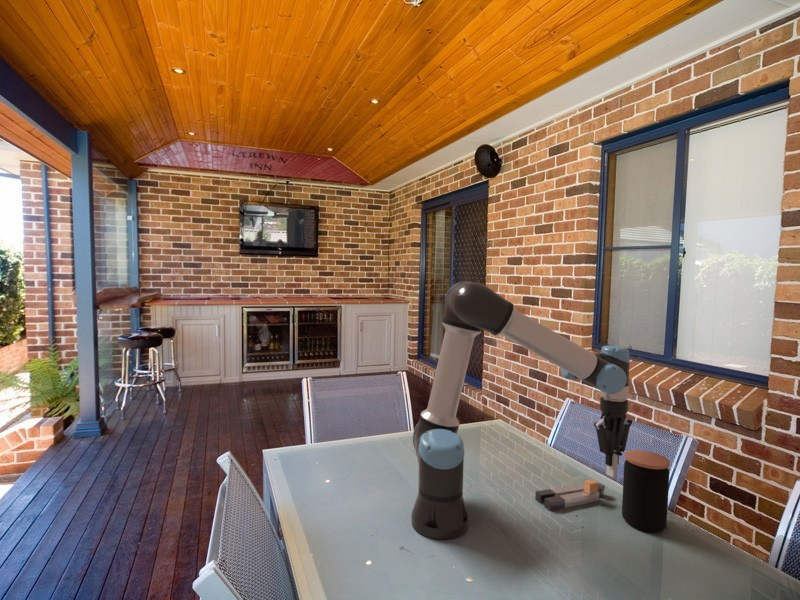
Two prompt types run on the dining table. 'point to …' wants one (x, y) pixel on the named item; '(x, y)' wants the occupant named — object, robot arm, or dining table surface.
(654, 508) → the coffee jar
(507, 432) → the dining table surface
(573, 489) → the tongs upper
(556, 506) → the tongs lower
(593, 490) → the tab
